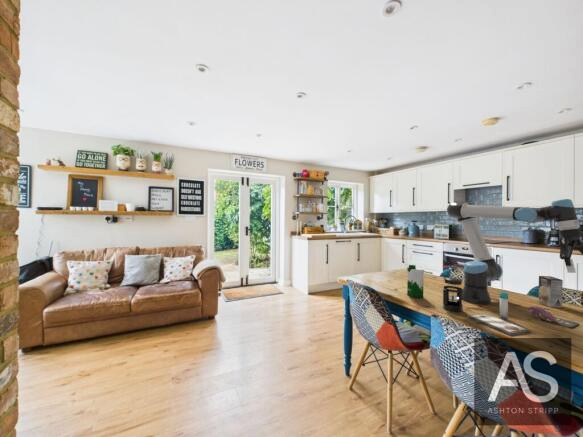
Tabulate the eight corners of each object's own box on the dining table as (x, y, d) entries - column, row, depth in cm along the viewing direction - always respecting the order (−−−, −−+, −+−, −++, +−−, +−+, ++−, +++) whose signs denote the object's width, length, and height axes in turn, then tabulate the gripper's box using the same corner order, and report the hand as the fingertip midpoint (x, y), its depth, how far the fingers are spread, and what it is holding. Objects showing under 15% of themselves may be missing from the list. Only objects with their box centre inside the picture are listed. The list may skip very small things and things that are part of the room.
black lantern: (451, 305, 145) (452, 265, 145) (468, 311, 136) (468, 269, 136) (436, 307, 141) (437, 267, 141) (452, 313, 132) (452, 270, 132)
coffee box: (537, 301, 153) (537, 275, 153) (550, 302, 151) (550, 276, 151) (549, 307, 144) (550, 279, 144) (563, 307, 142) (563, 279, 142)
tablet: (467, 317, 127) (467, 315, 127) (486, 315, 130) (486, 313, 130) (509, 335, 108) (509, 332, 108) (530, 332, 111) (530, 329, 111)
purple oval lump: (530, 317, 132) (524, 305, 132) (537, 313, 132) (531, 301, 132) (551, 325, 122) (545, 313, 122) (558, 321, 122) (552, 308, 122)
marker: (497, 317, 128) (497, 292, 128) (502, 316, 128) (502, 291, 128) (504, 320, 124) (504, 294, 124) (509, 319, 125) (510, 293, 125)
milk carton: (405, 294, 167) (405, 264, 167) (419, 294, 166) (419, 264, 166) (411, 298, 158) (411, 266, 158) (425, 298, 158) (426, 266, 158)
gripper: (561, 229, 122) (573, 273, 118) (596, 226, 127) (609, 269, 124) (542, 231, 129) (554, 273, 125) (576, 229, 135) (588, 269, 131)
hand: (581, 271), depth 124 cm, fingers open, 13 cm apart
